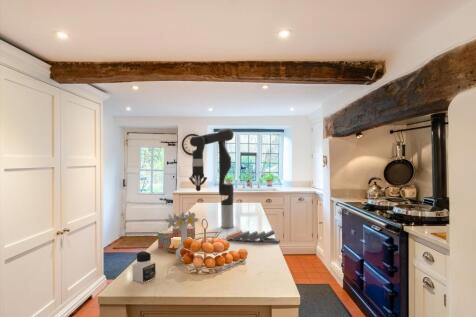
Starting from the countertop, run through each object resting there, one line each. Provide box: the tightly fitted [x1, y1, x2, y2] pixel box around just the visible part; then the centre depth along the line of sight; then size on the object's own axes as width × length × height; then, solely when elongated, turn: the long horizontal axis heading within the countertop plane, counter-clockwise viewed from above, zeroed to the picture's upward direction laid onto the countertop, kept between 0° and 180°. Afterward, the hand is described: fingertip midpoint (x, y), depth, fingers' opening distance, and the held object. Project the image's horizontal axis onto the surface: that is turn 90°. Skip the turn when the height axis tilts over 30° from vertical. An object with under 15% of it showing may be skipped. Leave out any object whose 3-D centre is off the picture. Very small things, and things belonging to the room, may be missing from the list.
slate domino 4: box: [262, 237, 281, 245], centre depth 177 cm, size 2×5×10 cm
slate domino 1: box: [232, 230, 251, 242], centre depth 182 cm, size 2×5×10 cm
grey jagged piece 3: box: [241, 230, 259, 243], centre depth 180 cm, size 2×5×10 cm
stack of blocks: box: [157, 225, 196, 249], centre depth 170 cm, size 21×6×12 cm, turn 85°
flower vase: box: [165, 211, 199, 261], centre depth 150 cm, size 13×18×25 cm
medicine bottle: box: [132, 250, 157, 284], centre depth 126 cm, size 7×7×12 cm
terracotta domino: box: [225, 229, 243, 241], centre depth 183 cm, size 2×5×10 cm
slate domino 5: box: [259, 229, 275, 241], centre depth 180 cm, size 2×5×10 cm
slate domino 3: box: [248, 230, 267, 243], centre depth 179 cm, size 2×5×10 cm
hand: (198, 190), depth 192 cm, fingers closed
